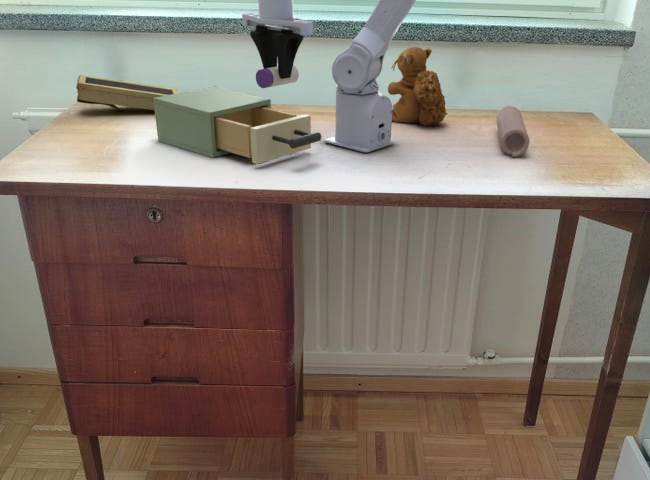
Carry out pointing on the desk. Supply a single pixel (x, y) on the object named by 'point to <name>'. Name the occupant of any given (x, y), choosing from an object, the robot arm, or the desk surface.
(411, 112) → the stuffed squirrel
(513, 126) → the grey hollow tube piece
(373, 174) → the desk surface
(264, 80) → the glue stick
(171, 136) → the box
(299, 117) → the drawer
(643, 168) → the desk surface
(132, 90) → the box
